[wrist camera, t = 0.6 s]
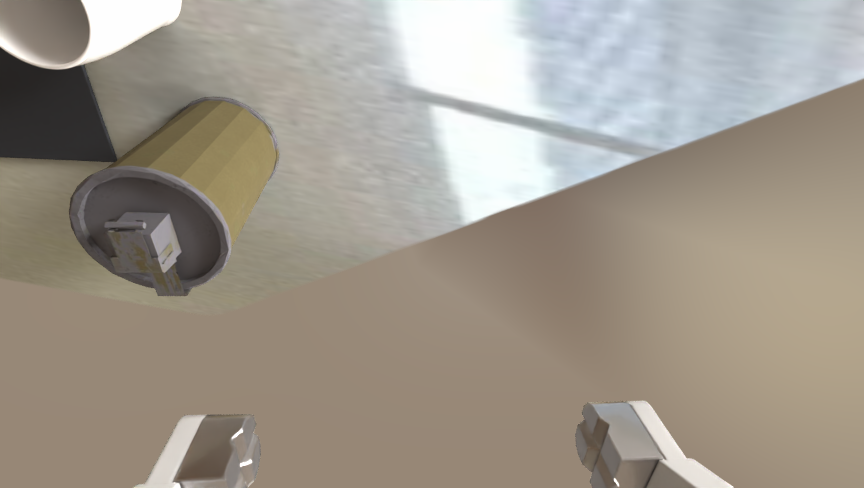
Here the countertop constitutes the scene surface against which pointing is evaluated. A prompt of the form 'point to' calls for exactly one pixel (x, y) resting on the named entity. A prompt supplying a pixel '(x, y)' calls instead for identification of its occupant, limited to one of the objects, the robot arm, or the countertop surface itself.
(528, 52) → the countertop surface
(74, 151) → the place mat
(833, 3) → the countertop surface
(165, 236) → the canister
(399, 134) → the countertop surface
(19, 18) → the white tapered cylinder
